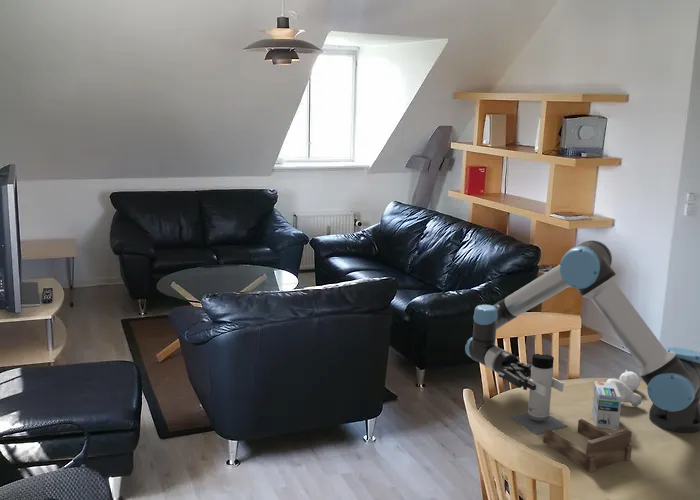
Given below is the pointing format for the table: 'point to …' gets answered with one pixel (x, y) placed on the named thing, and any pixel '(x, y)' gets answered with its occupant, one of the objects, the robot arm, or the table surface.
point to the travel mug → (543, 376)
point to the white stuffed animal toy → (626, 393)
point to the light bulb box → (606, 405)
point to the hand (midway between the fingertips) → (553, 389)
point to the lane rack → (592, 446)
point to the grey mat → (538, 423)
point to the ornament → (630, 380)
